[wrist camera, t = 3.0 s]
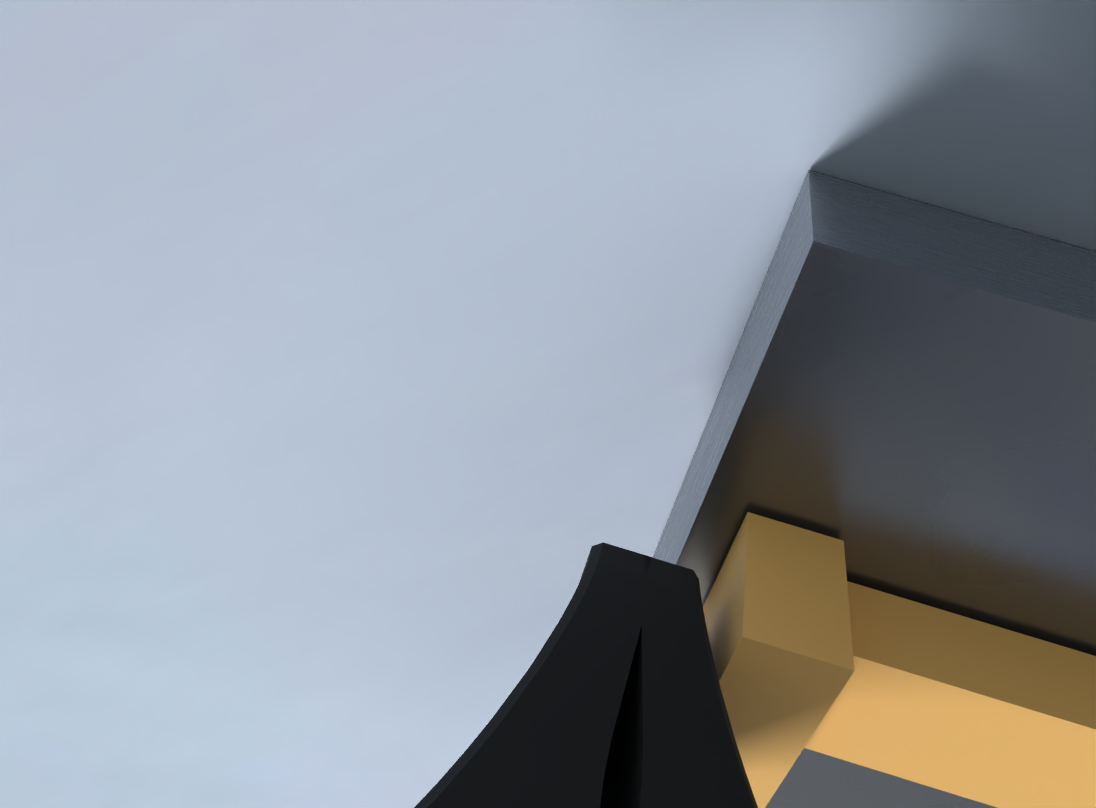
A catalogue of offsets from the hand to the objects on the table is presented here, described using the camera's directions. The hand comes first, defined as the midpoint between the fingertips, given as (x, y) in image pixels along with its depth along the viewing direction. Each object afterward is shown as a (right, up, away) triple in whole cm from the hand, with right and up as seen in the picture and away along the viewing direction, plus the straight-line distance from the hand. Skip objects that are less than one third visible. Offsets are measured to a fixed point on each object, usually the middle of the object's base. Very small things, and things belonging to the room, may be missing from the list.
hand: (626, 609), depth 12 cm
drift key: (+5, -1, 0) cm, 5 cm away
